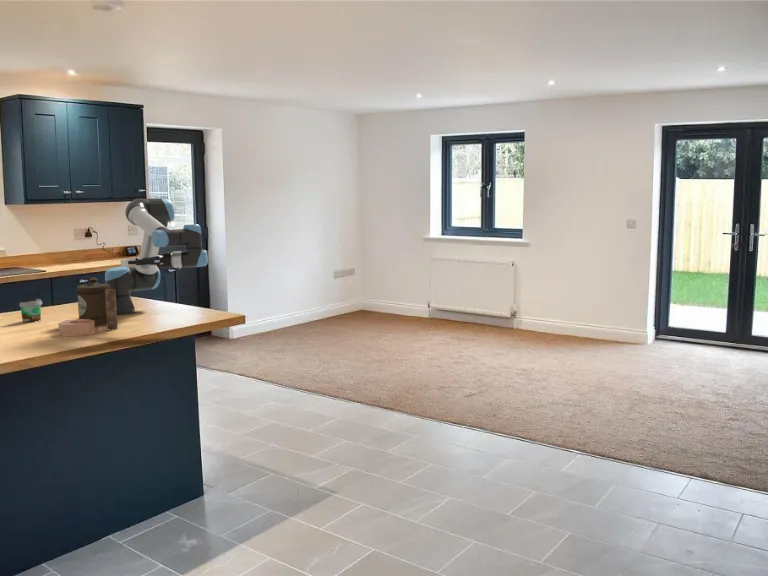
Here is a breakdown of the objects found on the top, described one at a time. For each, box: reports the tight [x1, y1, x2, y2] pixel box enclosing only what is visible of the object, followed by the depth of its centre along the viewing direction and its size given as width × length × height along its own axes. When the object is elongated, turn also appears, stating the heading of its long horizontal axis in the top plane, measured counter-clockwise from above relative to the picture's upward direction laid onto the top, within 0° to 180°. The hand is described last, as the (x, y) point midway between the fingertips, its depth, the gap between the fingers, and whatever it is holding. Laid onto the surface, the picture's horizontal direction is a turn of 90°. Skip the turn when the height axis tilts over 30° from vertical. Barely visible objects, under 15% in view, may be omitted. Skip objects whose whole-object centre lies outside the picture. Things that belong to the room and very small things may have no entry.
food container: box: [19, 298, 43, 323], centre depth 343 cm, size 12×6×10 cm, turn 168°
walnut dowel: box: [105, 289, 119, 331], centre depth 322 cm, size 4×4×18 cm
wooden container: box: [76, 276, 110, 327], centre depth 336 cm, size 15×15×22 cm
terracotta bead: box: [58, 318, 96, 337], centre depth 314 cm, size 13×13×5 cm
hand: (124, 262), depth 321 cm, fingers open, 13 cm apart
